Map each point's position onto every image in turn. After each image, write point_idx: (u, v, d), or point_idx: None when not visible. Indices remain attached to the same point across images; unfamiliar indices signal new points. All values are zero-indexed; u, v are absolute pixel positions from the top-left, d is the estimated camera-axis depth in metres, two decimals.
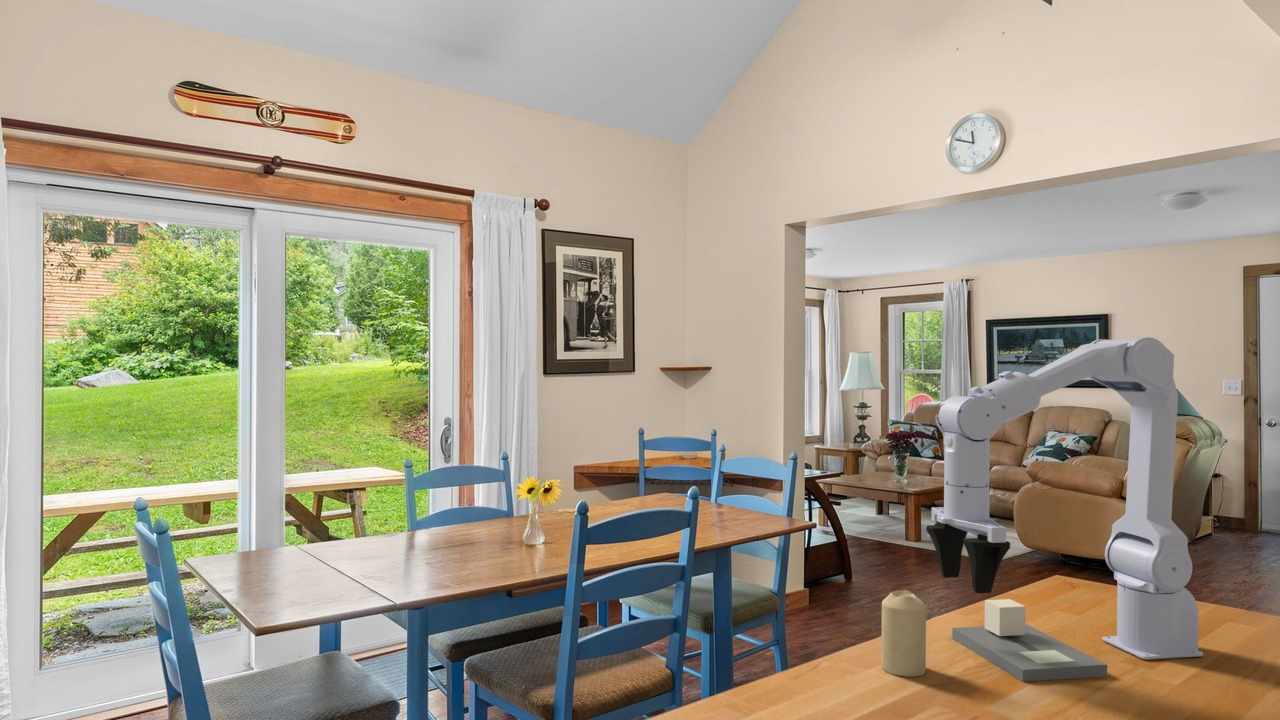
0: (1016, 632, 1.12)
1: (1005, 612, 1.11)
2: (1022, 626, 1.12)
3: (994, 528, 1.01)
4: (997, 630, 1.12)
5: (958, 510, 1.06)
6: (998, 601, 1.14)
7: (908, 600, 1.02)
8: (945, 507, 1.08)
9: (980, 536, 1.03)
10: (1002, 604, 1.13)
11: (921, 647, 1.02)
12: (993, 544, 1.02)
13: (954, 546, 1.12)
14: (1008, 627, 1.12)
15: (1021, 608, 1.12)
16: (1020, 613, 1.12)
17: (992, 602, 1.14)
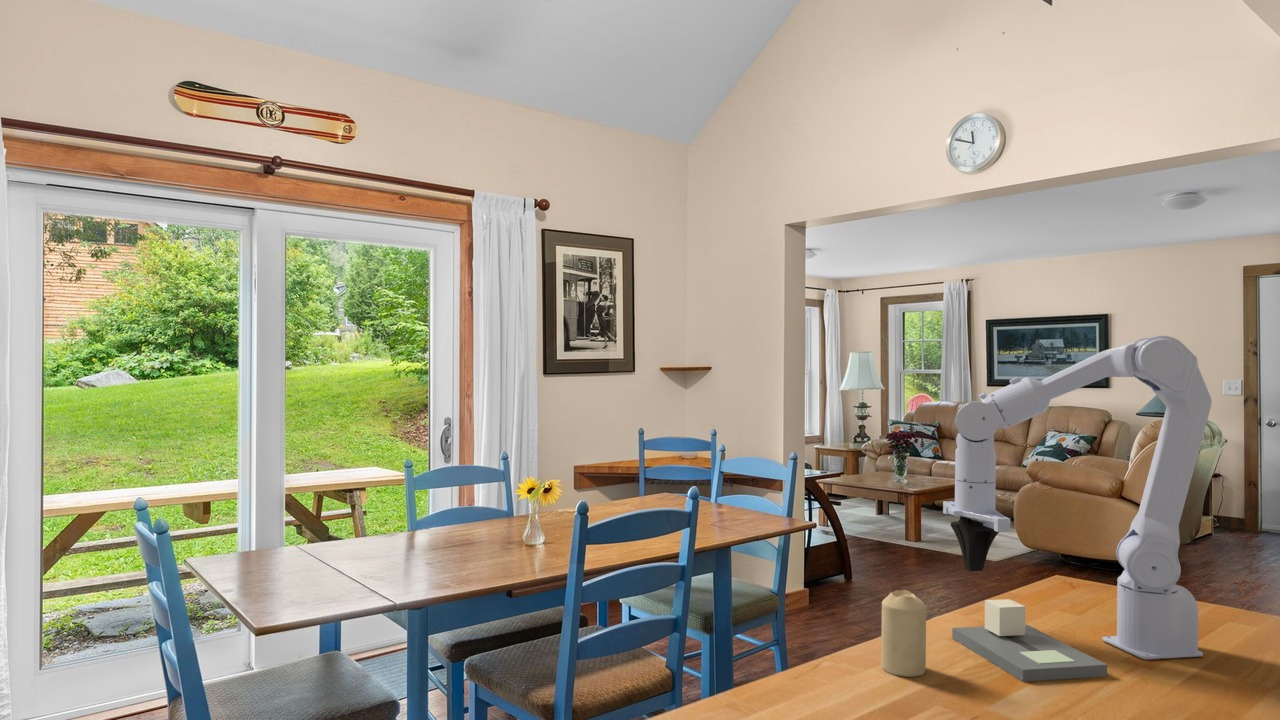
0: (1016, 632, 1.12)
1: (1005, 612, 1.11)
2: (1022, 626, 1.12)
3: (1000, 519, 1.14)
4: (997, 630, 1.12)
5: (967, 503, 1.19)
6: (998, 601, 1.14)
7: (908, 600, 1.02)
8: (956, 500, 1.21)
9: (973, 521, 1.20)
10: (1002, 604, 1.13)
11: (921, 647, 1.02)
12: (985, 528, 1.18)
13: None
14: (1008, 627, 1.12)
15: (1021, 608, 1.12)
16: (1020, 613, 1.12)
17: (992, 602, 1.14)
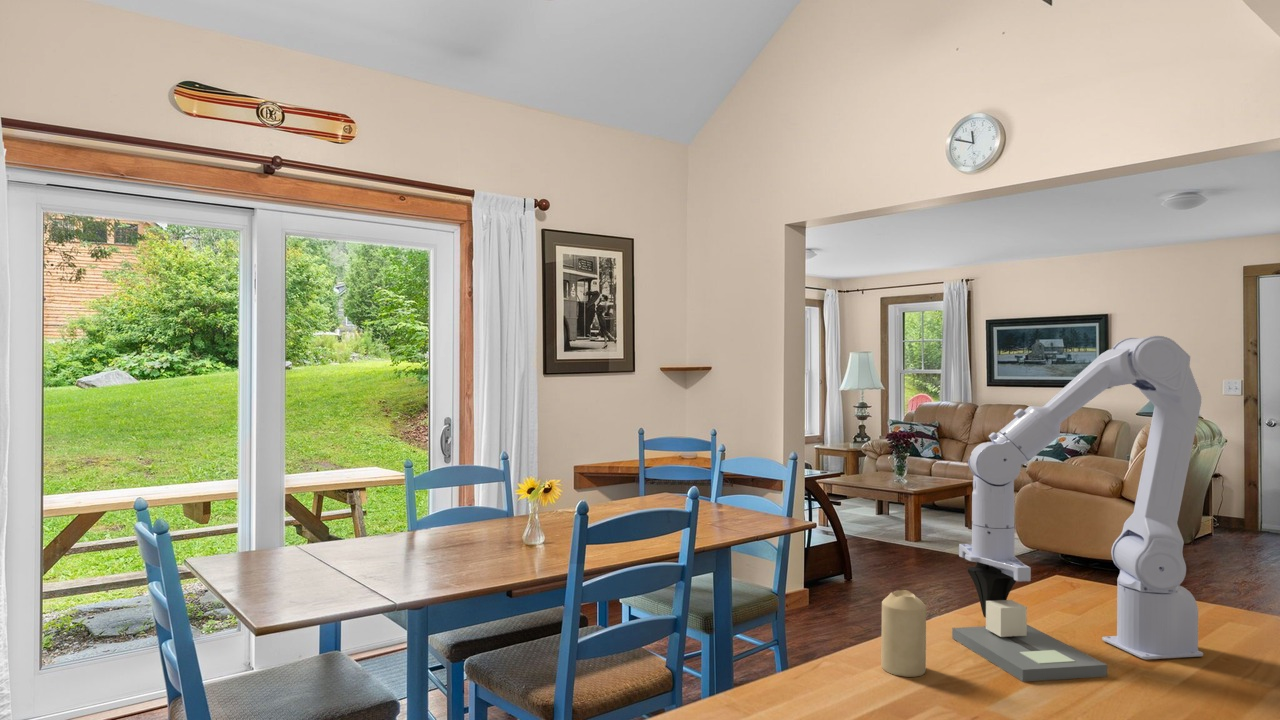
0: (1018, 632, 1.12)
1: (1006, 612, 1.11)
2: (1023, 627, 1.12)
3: (1020, 568, 1.09)
4: (998, 631, 1.11)
5: (985, 549, 1.14)
6: (999, 602, 1.14)
7: (908, 600, 1.02)
8: (973, 545, 1.16)
9: (991, 568, 1.15)
10: (1003, 605, 1.13)
11: (921, 648, 1.02)
12: (1003, 575, 1.14)
13: None
14: (1010, 628, 1.11)
15: (1022, 609, 1.12)
16: (1021, 614, 1.12)
17: (993, 603, 1.13)
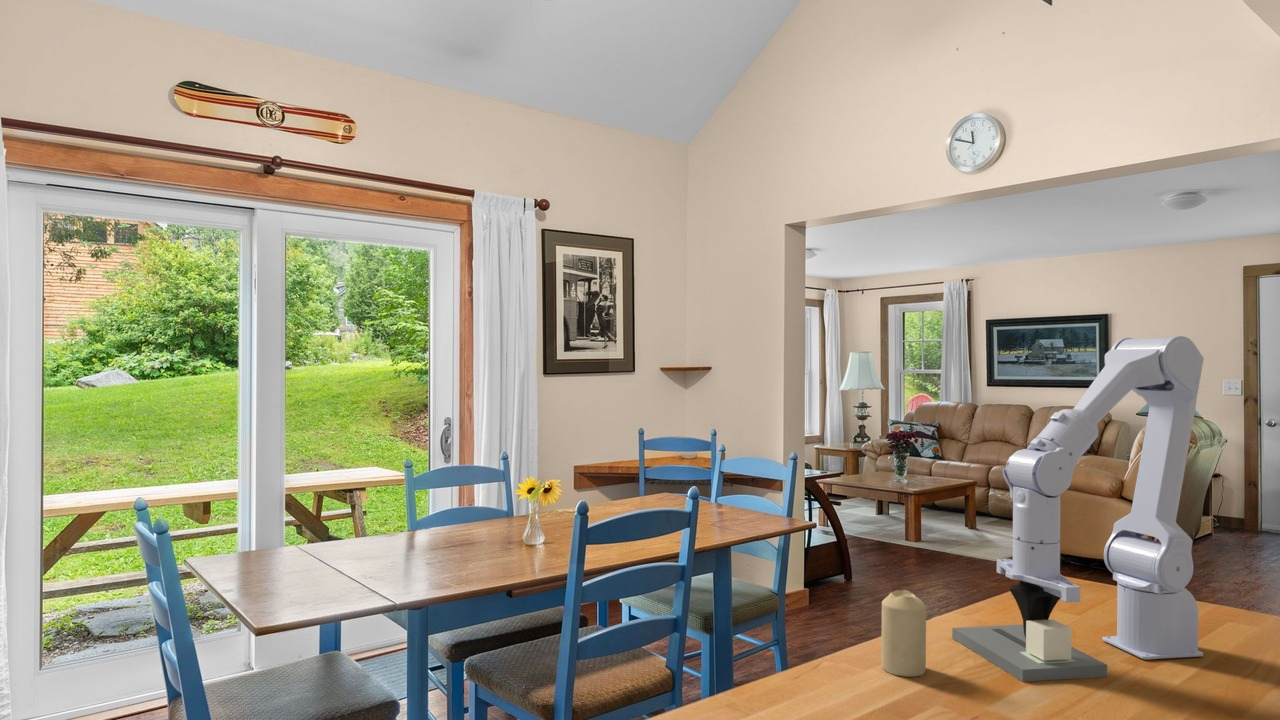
0: (1062, 656, 1.03)
1: (1049, 634, 1.02)
2: (1068, 649, 1.03)
3: (1068, 588, 1.00)
4: (1041, 654, 1.03)
5: (1029, 566, 1.05)
6: (1041, 622, 1.05)
7: (908, 600, 1.02)
8: (1014, 562, 1.07)
9: (1032, 585, 1.06)
10: (1046, 625, 1.04)
11: (921, 647, 1.02)
12: (1045, 593, 1.05)
13: (1040, 609, 1.07)
14: (1053, 651, 1.02)
15: (1067, 630, 1.03)
16: (1066, 635, 1.03)
17: (1034, 623, 1.05)
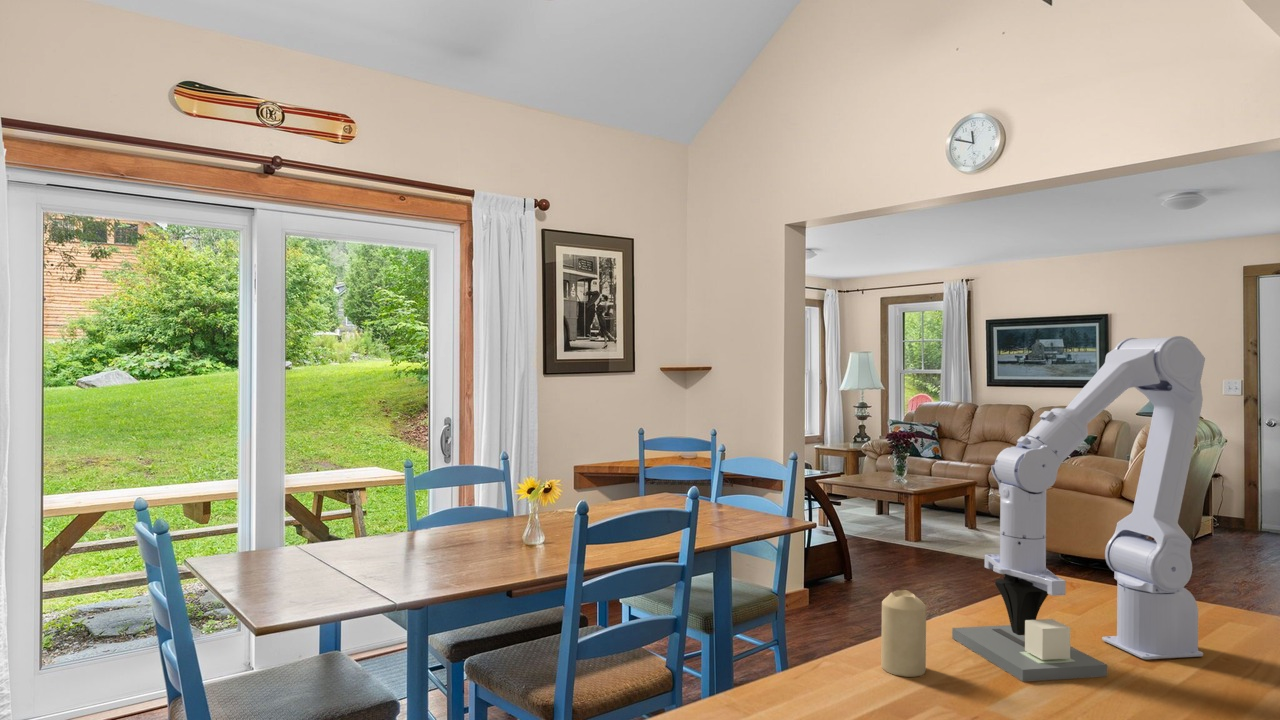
0: (1060, 655, 1.03)
1: (1048, 633, 1.03)
2: (1067, 649, 1.03)
3: (1054, 581, 1.02)
4: (1040, 653, 1.03)
5: (1016, 561, 1.08)
6: (1040, 621, 1.05)
7: (908, 600, 1.02)
8: (1002, 557, 1.10)
9: (1021, 581, 1.08)
10: (1045, 625, 1.04)
11: (921, 647, 1.02)
12: (1035, 589, 1.07)
13: None
14: (1052, 650, 1.03)
15: (1066, 629, 1.03)
16: (1064, 635, 1.03)
17: (1033, 622, 1.05)
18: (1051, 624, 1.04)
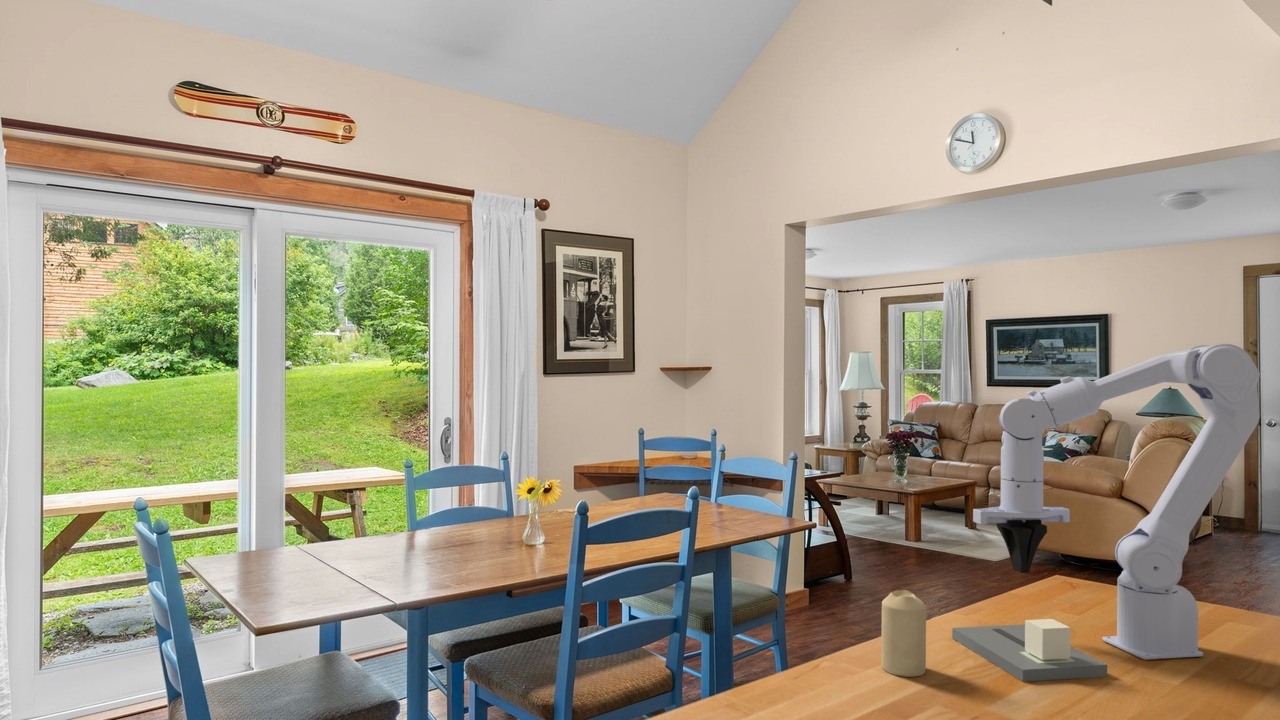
0: (1060, 655, 1.03)
1: (1048, 633, 1.03)
2: (1067, 649, 1.03)
3: (974, 510, 1.17)
4: (1040, 653, 1.03)
5: None
6: (1040, 621, 1.05)
7: (908, 600, 1.02)
8: None
9: None
10: (1045, 625, 1.04)
11: (921, 647, 1.02)
12: (1005, 525, 1.17)
13: None
14: (1052, 650, 1.03)
15: (1066, 629, 1.03)
16: (1064, 635, 1.03)
17: (1033, 622, 1.05)
18: (1051, 624, 1.04)
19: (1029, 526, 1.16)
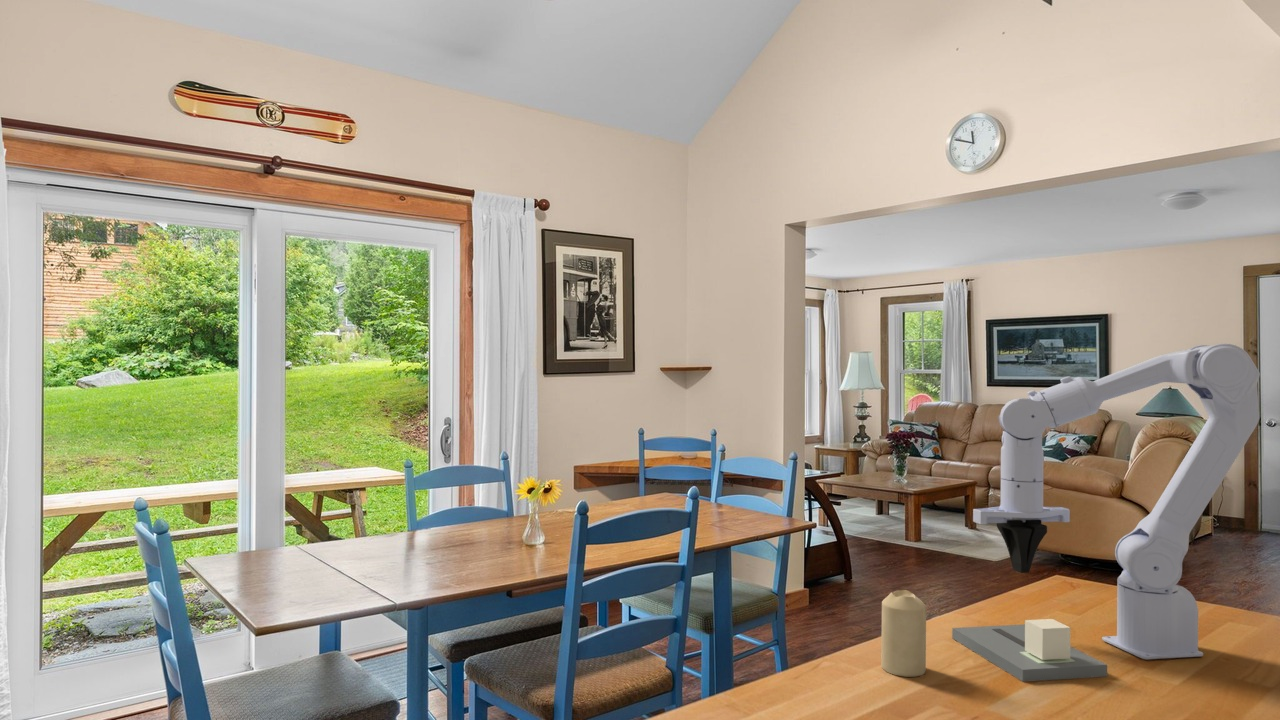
0: (1060, 655, 1.03)
1: (1048, 633, 1.03)
2: (1067, 649, 1.03)
3: (974, 510, 1.17)
4: (1040, 653, 1.03)
5: None
6: (1040, 621, 1.05)
7: (908, 600, 1.02)
8: None
9: None
10: (1045, 625, 1.04)
11: (921, 648, 1.02)
12: (1005, 525, 1.17)
13: None
14: (1052, 650, 1.03)
15: (1066, 629, 1.03)
16: (1064, 635, 1.03)
17: (1033, 622, 1.05)
18: (1051, 624, 1.04)
19: (1029, 526, 1.16)
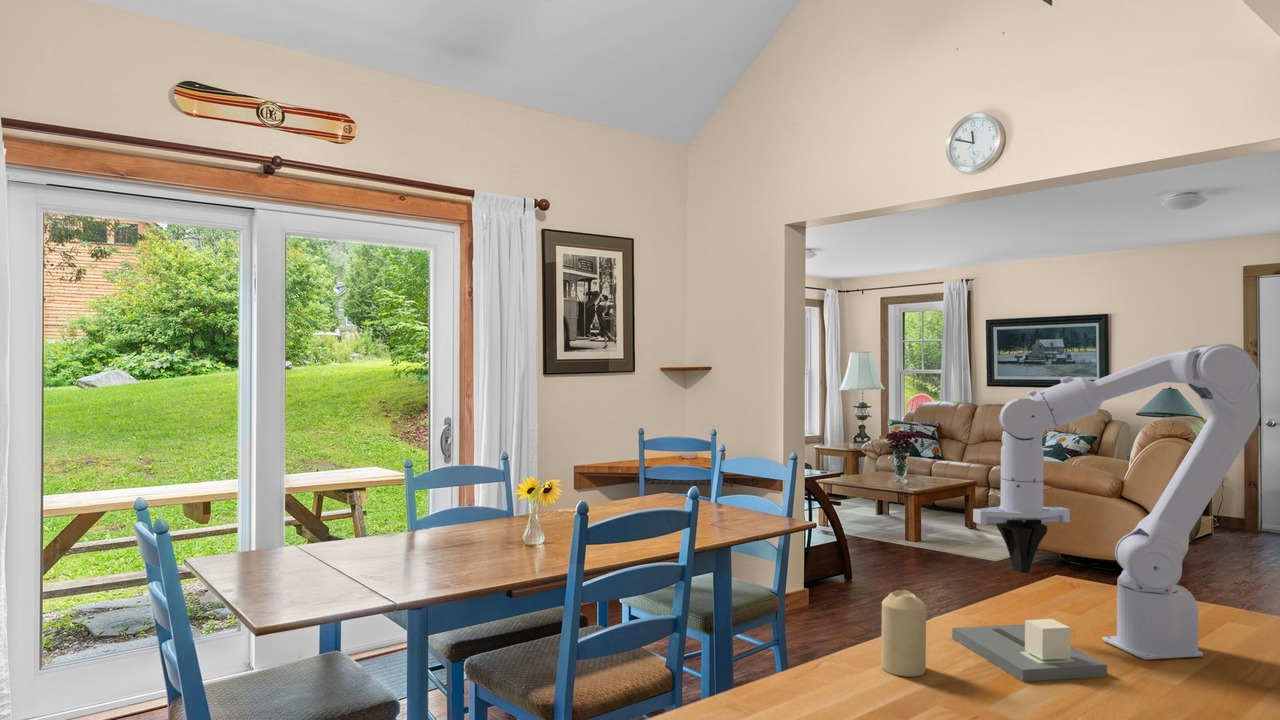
0: (1060, 655, 1.03)
1: (1048, 633, 1.03)
2: (1067, 649, 1.03)
3: (974, 510, 1.17)
4: (1040, 653, 1.03)
5: None
6: (1040, 621, 1.05)
7: (908, 600, 1.02)
8: None
9: None
10: (1045, 625, 1.04)
11: (921, 648, 1.02)
12: (1005, 525, 1.17)
13: None
14: (1052, 650, 1.03)
15: (1066, 629, 1.03)
16: (1064, 635, 1.03)
17: (1033, 622, 1.05)
18: (1051, 624, 1.04)
19: (1029, 526, 1.16)
